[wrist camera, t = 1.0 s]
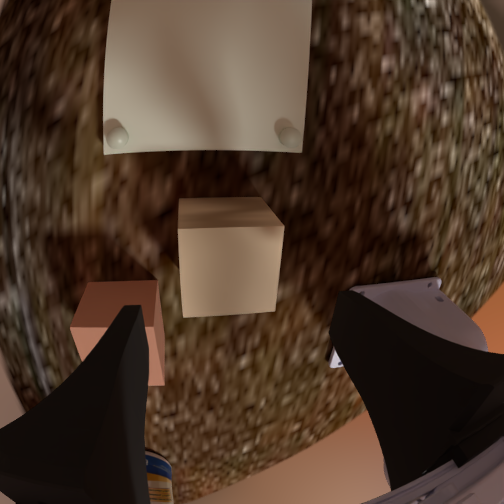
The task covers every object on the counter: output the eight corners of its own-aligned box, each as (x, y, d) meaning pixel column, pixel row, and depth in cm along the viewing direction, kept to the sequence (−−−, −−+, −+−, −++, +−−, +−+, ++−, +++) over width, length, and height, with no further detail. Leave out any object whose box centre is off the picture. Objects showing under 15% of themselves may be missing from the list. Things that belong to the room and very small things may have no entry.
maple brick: (260, 196, 17) (284, 226, 13) (255, 267, 19) (274, 311, 15) (179, 197, 16) (177, 228, 13) (181, 270, 18) (183, 317, 15)
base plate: (305, -14, 12) (316, -23, 11) (295, 150, 16) (305, 154, 15) (119, -22, 10) (114, -33, 9) (108, 151, 14) (101, 156, 13)
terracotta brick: (157, 279, 18) (153, 326, 14) (164, 335, 20) (164, 385, 16) (88, 281, 17) (69, 327, 13) (102, 336, 19) (91, 385, 15)
